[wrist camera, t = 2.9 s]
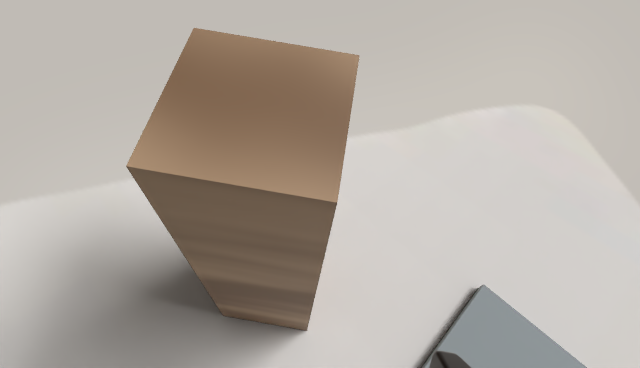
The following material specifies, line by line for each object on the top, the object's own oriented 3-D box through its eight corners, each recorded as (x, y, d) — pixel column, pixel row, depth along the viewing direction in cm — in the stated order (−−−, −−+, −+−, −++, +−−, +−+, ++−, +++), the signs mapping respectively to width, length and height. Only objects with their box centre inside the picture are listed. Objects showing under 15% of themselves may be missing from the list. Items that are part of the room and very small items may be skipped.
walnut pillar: (306, 330, 19) (336, 202, 7) (223, 315, 19) (126, 166, 7) (320, 250, 21) (359, 55, 9) (244, 237, 21) (193, 27, 9)
